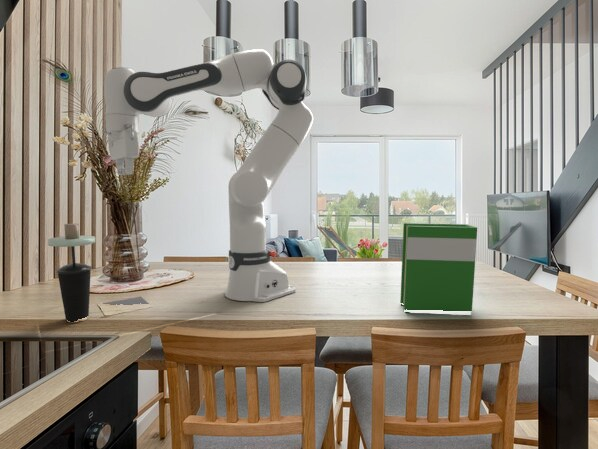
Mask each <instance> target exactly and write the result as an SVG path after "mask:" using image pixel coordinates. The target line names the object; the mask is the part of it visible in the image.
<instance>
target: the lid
mask: <svg viewBox="0 0 598 449" xmlns="http://www.w3.org/2000/svg"><path fill="white" fill-rule="evenodd" d="M63 227H64V228H63V229H64V236H56V237H52V238H51V237H50V238H48V239H47V245H48V246H49V247H55V248H56V247H57V248H61V247H62V248H64V247H65V248H69V247H70V248H71V246H75V247H80V246H87V245H92V244H95V243H96V236H94V235H83V234H82V235H80V228H79V227H80V225H79V223H65V224H64V225H63Z"/></svg>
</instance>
